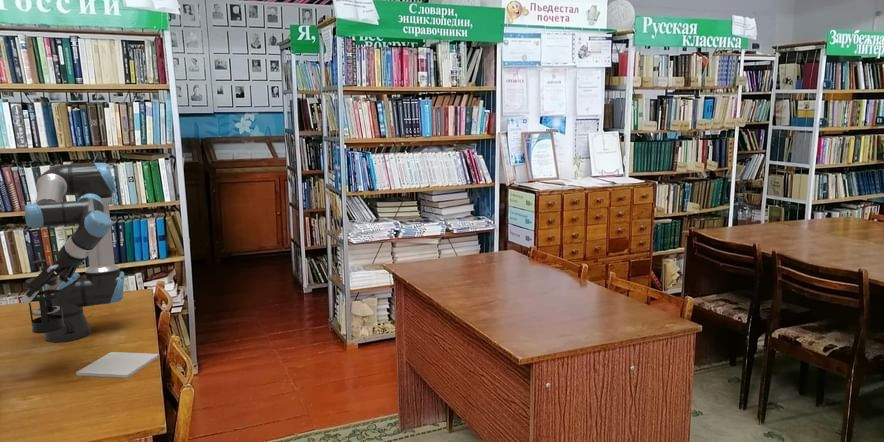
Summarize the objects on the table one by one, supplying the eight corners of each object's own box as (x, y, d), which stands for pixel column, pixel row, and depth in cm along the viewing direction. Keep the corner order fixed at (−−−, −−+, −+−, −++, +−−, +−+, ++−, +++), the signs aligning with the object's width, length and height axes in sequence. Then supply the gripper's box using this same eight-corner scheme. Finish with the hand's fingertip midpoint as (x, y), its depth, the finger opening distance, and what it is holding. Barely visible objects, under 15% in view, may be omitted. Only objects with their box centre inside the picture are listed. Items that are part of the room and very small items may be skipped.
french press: (62, 331, 213) (53, 262, 209) (29, 335, 209) (19, 265, 205) (67, 320, 224) (58, 255, 220) (35, 325, 220) (26, 258, 216)
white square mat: (111, 354, 230) (111, 351, 229) (159, 356, 227) (158, 353, 227) (76, 375, 212) (75, 372, 212) (127, 377, 209) (127, 374, 209)
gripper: (58, 268, 199) (18, 316, 204) (106, 251, 221) (69, 295, 226) (40, 250, 199) (1, 299, 204) (90, 235, 221) (53, 280, 226)
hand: (37, 297), depth 215 cm, fingers closed on french press, 10 cm apart
